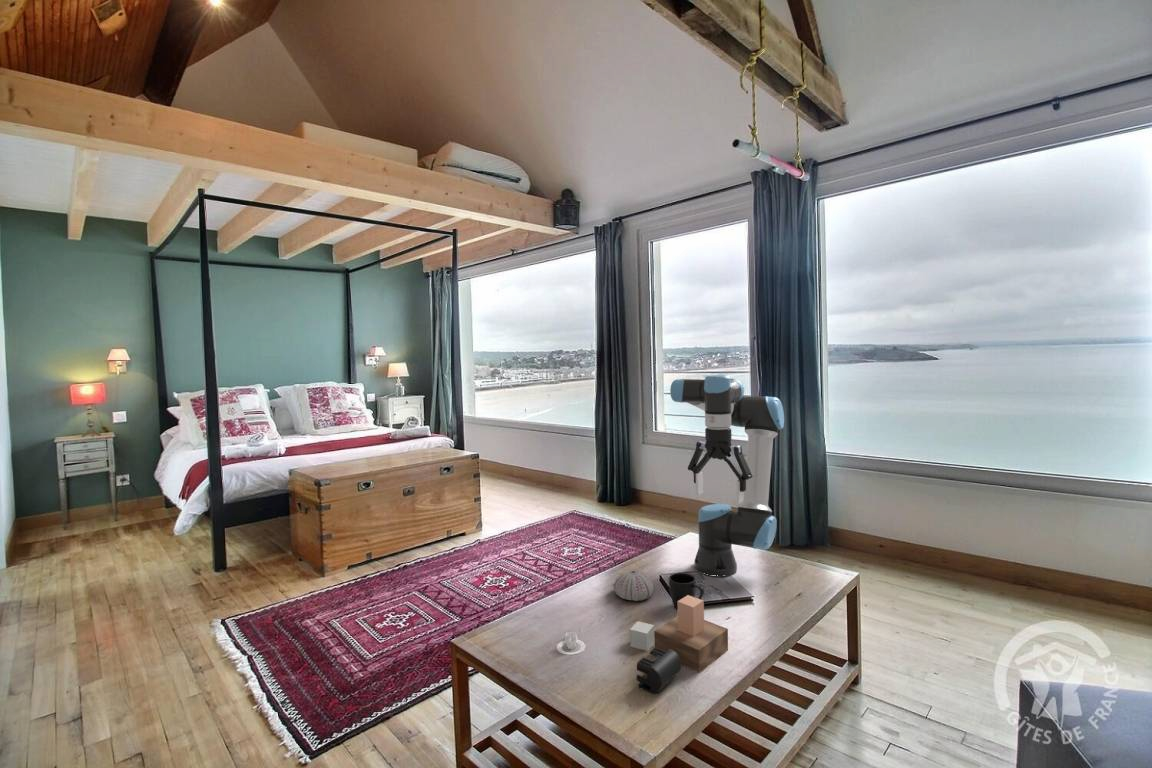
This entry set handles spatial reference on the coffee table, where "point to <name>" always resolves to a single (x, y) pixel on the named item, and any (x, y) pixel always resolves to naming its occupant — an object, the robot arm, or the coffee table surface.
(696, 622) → the terracotta block
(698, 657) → the walnut block
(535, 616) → the coffee table surface
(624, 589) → the sea urchin shell
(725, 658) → the coffee table surface
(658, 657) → the end cap
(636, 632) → the grey cube
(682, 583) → the mug
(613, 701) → the coffee table surface
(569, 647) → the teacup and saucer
